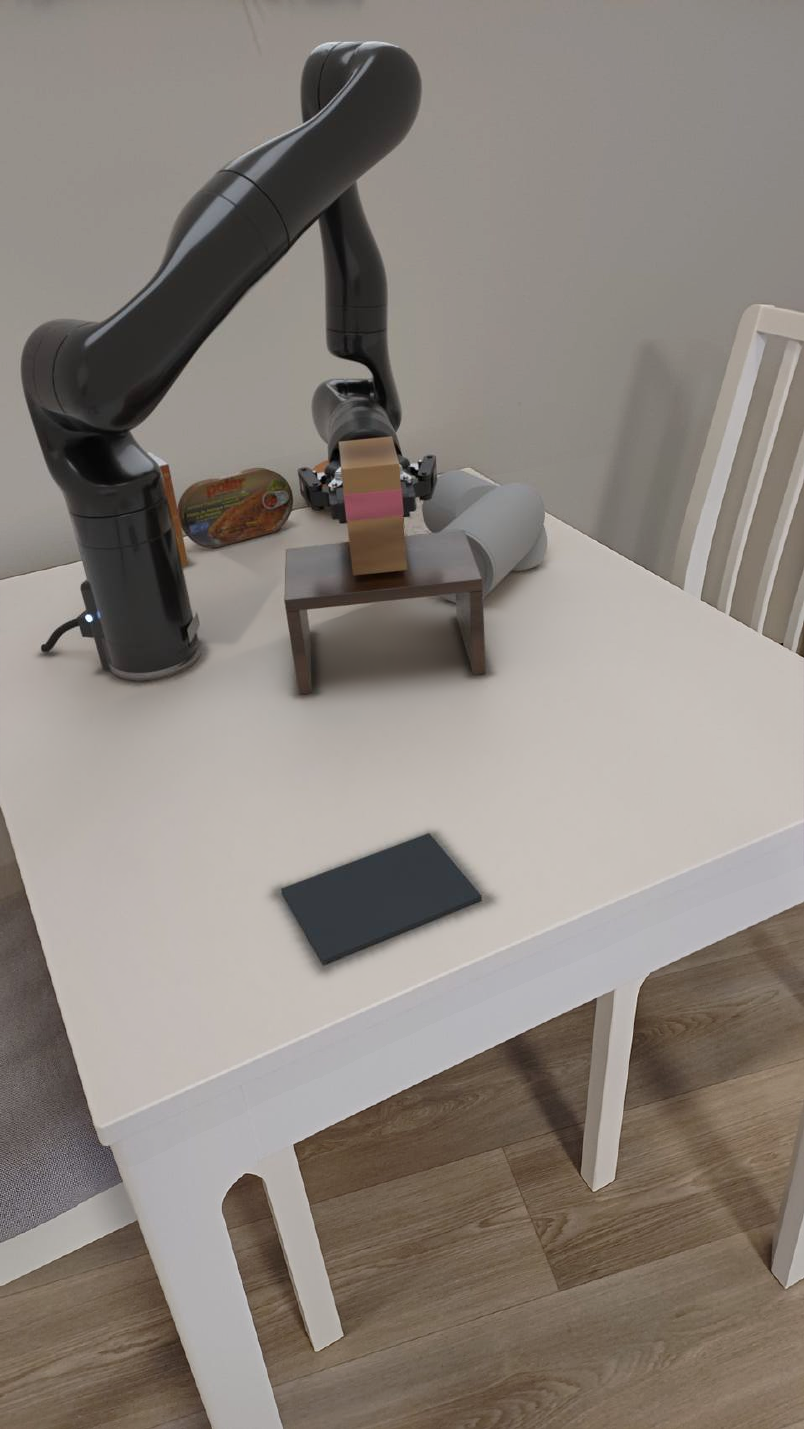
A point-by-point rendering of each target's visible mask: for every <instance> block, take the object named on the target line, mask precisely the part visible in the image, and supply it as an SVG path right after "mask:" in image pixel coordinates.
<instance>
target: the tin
mask: <svg viewBox="0 0 804 1429" xmlns="http://www.w3.org/2000/svg"><path fill="white" fill-rule="evenodd" d="M293 506H294V495H293V491H292V488H291V485H290V484H289V482H288V480H286V479H285V477H284V476H283V475H281V474H280V473H278V472H276V471H273V470H271V469H268V468H264V467H252V468H247V469H244V470H239V471H236V472H232V473H228V474H223V475H220V476H216V477H211V478H208V479H204V480H200V481H197V482H194V483H193V484H191V485H190V486H188V487H187V488H186V489H185V490H184V492H183V493H182V494H181V496H180V498H179V501H178V504H177V509H178V514H179V519H180V524H181V529H182V532H184V533H185V534H186V536H187V537H188V538H189V539H190V540H191V541H192V542H193V543H194V544H196V545H197V546H200V547H203V548H208V549H216V548H220V547H225V546H228V545H232V544H235V543H238V542H242V541H246V540H249V539H253V538H258V537H261V536H264V535H268V534H271V533H274V532H276V531H278V530H279V529H280V528H282V527H283V526H284V525H285V524H286V523H287V521H288V520H289V518H290V516H291V514H292V511H293Z"/></svg>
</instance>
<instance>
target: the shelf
mask: <svg viewBox="0 0 804 1429" xmlns="http://www.w3.org/2000/svg"><path fill="white" fill-rule="evenodd" d="M405 546H406V559H407V570H402V571H392V572H383V573H373V574H363V575H353V571H352V561H351V552H350V543H349V541H346V542H336V543H327V544H318V545H308V546H299V547H289V548H285V568H284V569H285V571H284V600H283V601H284V606H285V613H286V621H287V626H288V633H289V639H290V640H289V641H290V646H291V652H292V658H293V664H294V665H293V666H294V672H295V677H296V683H297V685H296V686H297V691H298V695H308V694H312V643H311V642H312V641H311V640H312V639H311V629H310V622H309V614H308V611H309V610H315V609H317V610H318V609H327V608H334V607H343V606H344V607H345V606H354V605H364V604H371V603H380V602H381V603H382V602H389V601H390V602H391V601H399V600H409V599H417V598H427V597H436V596H437V597H438V596H441V595H446V594H455V593H456V603H455V606H456V620H457V624H458V627H459V630H460V634H461V637H462V640H463V644H464V647H465V650H466V654H467V658H468V661H469V664H470V667H471V670H472V674H473V676H478V675H486V673H487V670H486V669H487V668H486V667H487V666H486V642H485V641H486V640H485V639H486V638H485V614H484V612H485V611H484V598H483V591H482V590H483V584H482V577H481V574H480V572H479V569H478V566H477V564H476V561H475V558H474V556H473V553H472V550H471V547H470V545H469V542H468V539H467V537H466V534H465V531H464V530H457V531H448V532H438V533H432V532H430V533H421V534H412V535H411V534H410V535H405Z"/></svg>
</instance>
